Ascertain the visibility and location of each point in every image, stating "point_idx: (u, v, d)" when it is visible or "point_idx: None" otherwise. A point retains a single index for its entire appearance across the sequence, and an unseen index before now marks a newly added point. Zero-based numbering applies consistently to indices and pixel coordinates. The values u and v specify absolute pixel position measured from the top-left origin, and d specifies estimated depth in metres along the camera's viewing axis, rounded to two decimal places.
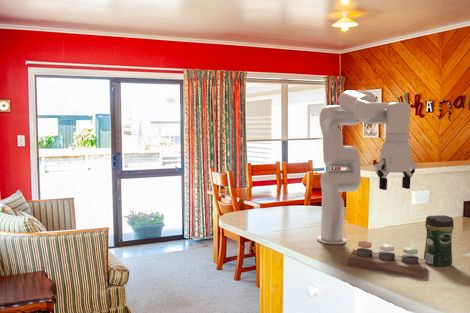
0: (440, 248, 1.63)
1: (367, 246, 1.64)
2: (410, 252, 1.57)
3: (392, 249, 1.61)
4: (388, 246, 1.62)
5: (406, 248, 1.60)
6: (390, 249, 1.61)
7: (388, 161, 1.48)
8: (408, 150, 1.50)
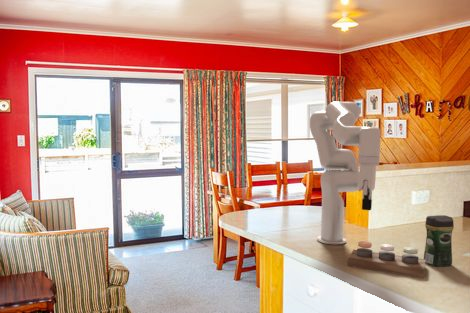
0: (440, 248, 1.63)
1: (367, 246, 1.64)
2: (410, 252, 1.57)
3: (392, 249, 1.61)
4: (388, 246, 1.62)
5: (406, 248, 1.60)
6: (390, 249, 1.61)
7: (371, 182, 1.59)
8: None
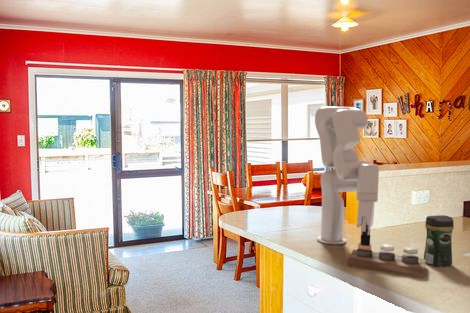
0: (440, 248, 1.63)
1: (367, 248, 1.64)
2: (410, 252, 1.57)
3: (392, 249, 1.61)
4: (388, 246, 1.62)
5: (406, 248, 1.60)
6: (390, 249, 1.61)
7: (369, 219, 1.60)
8: None
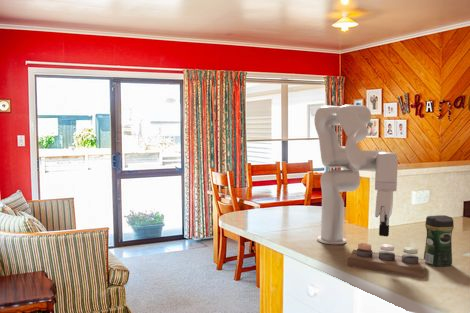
0: (440, 248, 1.63)
1: (367, 248, 1.64)
2: (410, 252, 1.57)
3: (392, 249, 1.61)
4: (388, 246, 1.62)
5: (406, 248, 1.60)
6: (390, 249, 1.61)
7: (388, 208, 1.57)
8: None
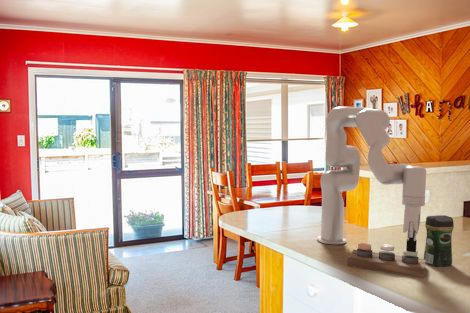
0: (440, 248, 1.63)
1: (367, 248, 1.64)
2: (410, 254, 1.57)
3: (392, 249, 1.61)
4: (388, 246, 1.62)
5: None
6: (390, 249, 1.61)
7: (417, 224, 1.53)
8: None
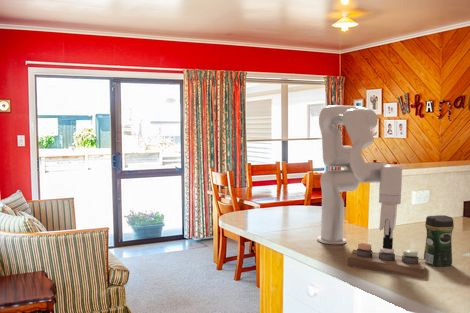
0: (440, 248, 1.63)
1: (367, 248, 1.64)
2: (410, 254, 1.57)
3: (392, 251, 1.61)
4: None
5: (406, 250, 1.60)
6: (390, 251, 1.61)
7: (393, 222, 1.57)
8: None
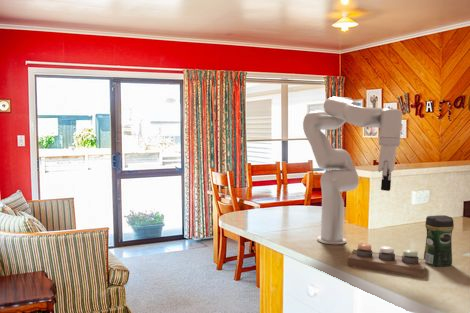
0: (440, 248, 1.63)
1: (367, 248, 1.64)
2: (410, 254, 1.57)
3: (392, 251, 1.61)
4: (388, 248, 1.62)
5: (406, 250, 1.60)
6: (390, 251, 1.61)
7: (391, 163, 1.62)
8: None
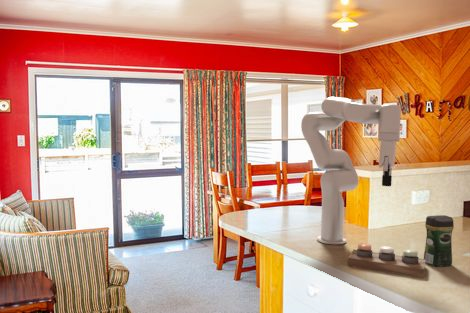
0: (440, 248, 1.63)
1: (367, 248, 1.64)
2: (410, 254, 1.57)
3: (392, 251, 1.61)
4: (388, 248, 1.62)
5: (406, 250, 1.60)
6: (390, 251, 1.61)
7: (392, 158, 1.62)
8: None
